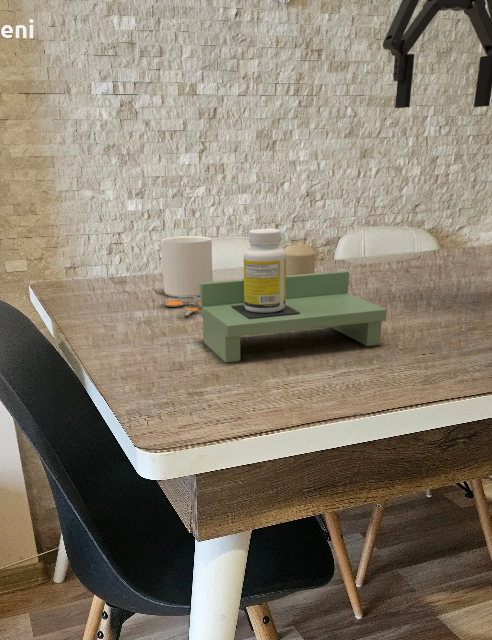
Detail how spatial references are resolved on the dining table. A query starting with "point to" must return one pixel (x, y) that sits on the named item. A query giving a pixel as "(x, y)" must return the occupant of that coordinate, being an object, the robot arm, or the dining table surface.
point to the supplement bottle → (264, 272)
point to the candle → (299, 259)
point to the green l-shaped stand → (287, 312)
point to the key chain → (193, 302)
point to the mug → (186, 264)
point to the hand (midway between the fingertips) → (442, 107)
